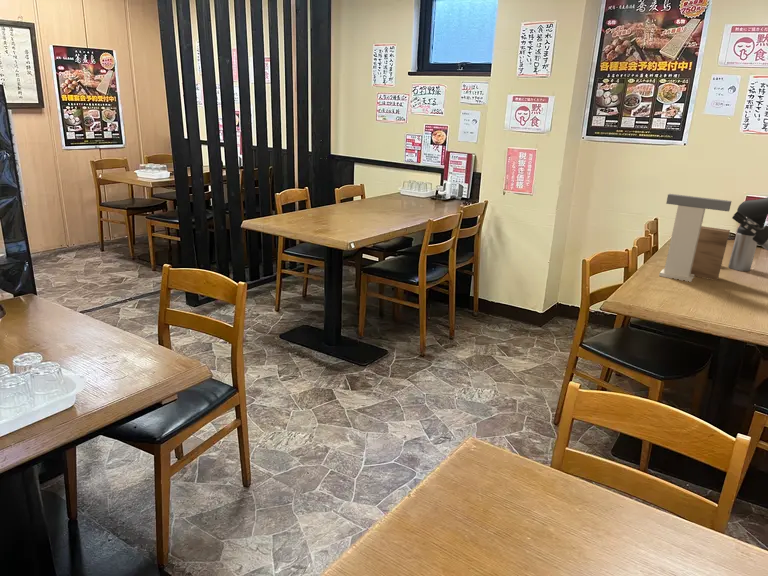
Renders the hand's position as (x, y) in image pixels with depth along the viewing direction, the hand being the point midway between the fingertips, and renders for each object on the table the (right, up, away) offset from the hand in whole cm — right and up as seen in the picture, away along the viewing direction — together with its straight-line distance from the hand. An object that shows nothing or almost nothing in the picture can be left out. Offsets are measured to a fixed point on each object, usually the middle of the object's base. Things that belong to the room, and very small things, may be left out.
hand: (734, 214), depth 236 cm
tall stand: (-15, -26, +18) cm, 35 cm away
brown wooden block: (-4, -25, +23) cm, 34 cm away
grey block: (-12, +4, +7) cm, 14 cm away
